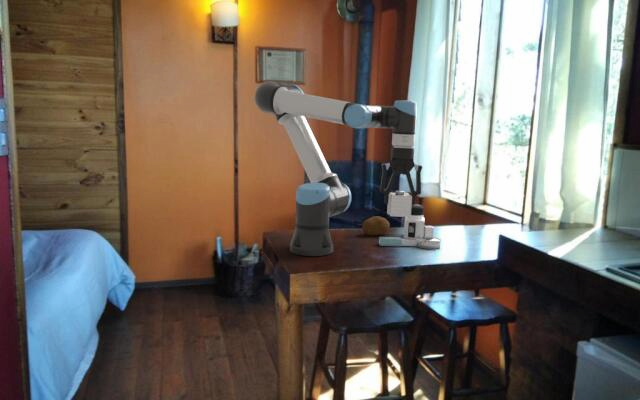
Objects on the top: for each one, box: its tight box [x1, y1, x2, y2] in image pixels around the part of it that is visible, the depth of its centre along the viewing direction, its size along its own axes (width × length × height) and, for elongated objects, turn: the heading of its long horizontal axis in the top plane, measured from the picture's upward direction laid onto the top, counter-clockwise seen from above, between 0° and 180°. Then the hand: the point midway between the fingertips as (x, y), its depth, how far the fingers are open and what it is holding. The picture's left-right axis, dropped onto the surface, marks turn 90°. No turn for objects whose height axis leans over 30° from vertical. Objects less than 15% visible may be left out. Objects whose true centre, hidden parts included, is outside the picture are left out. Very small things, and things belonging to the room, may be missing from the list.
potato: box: [362, 215, 391, 236], centre depth 208 cm, size 8×12×8 cm, turn 122°
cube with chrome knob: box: [389, 190, 411, 218], centre depth 177 cm, size 6×6×8 cm
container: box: [403, 204, 426, 239], centre depth 206 cm, size 8×8×13 cm
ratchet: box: [378, 225, 441, 250], centre depth 193 cm, size 22×9×8 cm, turn 89°
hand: (398, 213), depth 178 cm, fingers closed on cube with chrome knob, 6 cm apart
